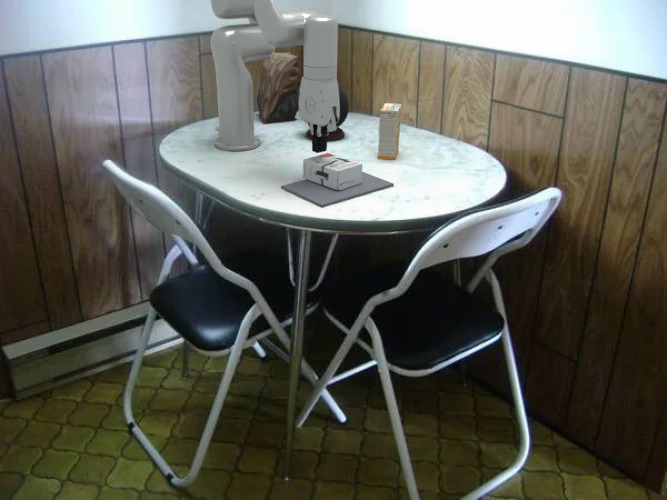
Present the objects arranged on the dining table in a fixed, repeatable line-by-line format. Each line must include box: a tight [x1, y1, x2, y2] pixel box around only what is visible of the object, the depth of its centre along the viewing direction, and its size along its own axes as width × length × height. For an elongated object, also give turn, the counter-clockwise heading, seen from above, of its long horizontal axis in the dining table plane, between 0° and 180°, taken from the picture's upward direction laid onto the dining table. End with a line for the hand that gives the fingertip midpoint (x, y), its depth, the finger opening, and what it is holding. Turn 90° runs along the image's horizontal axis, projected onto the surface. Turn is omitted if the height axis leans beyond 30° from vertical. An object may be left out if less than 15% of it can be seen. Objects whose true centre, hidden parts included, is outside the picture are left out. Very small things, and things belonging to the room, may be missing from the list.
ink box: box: [302, 152, 363, 190], centre depth 164 cm, size 8×5×12 cm
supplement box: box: [377, 102, 402, 160], centre depth 183 cm, size 8×5×13 cm, turn 168°
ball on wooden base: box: [305, 86, 350, 143], centre depth 198 cm, size 13×13×15 cm
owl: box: [256, 51, 301, 125], centre depth 214 cm, size 13×13×20 cm
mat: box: [280, 171, 395, 208], centre depth 163 cm, size 15×22×1 cm
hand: (319, 151), depth 164 cm, fingers closed
